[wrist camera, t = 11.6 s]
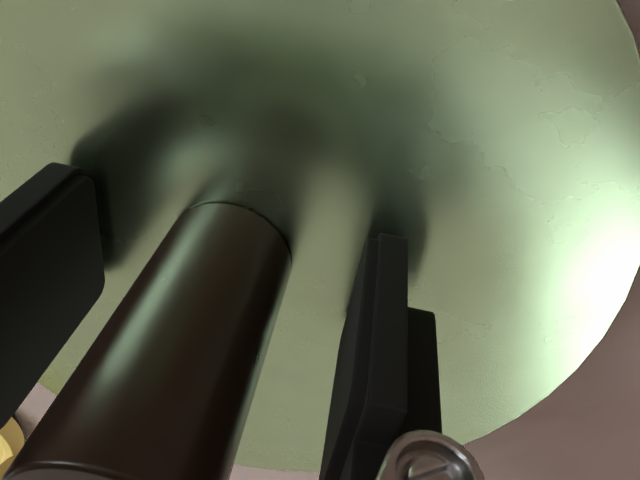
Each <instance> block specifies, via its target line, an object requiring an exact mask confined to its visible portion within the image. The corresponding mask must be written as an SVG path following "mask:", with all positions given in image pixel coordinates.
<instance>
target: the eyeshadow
mask: <svg viewBox="0 0 640 480" xmlns="http://www.w3.org/2000/svg"><path fill="white" fill-rule="evenodd" d="M23 446H24V435H23V432H22V430H21V428H20V426H19V425H18V423H17V422H16V421H15V420H14V418H13V417H11V418H10V420H9V421H8V422H7V424H6V425H5V426H4V427H3V428H1V429H0V480H1V479H2V477H3V475H4V474H5V472H6V471H7V469H8V468H9V466H10V465H11V463H12V462H13V460H14V459H15V457H16V456H17V454H18V453H19V452H20V450H21V449H22V447H23Z"/></svg>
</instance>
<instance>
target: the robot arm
mask: <svg viewBox="0 0 640 480" xmlns="http://www.w3.org/2000/svg"><path fill="white" fill-rule="evenodd" d="M104 285H105V274H104V265H103V256H102V247H101V238H100V229H99V221H98V212H97V203H96V194H95V185H94V181H93V179H92V178H90V177H87V175H86V172H85V171H84V170H83V169H82V168H79V167H74V166H69V165H65V164H60V163H56V162H51V163H49V164H47V165H46V166H45V167H44V168H42V169H41V170H40V171H39V172H37V173H36V174H35V175H34V176H32V177H31V178H30V179H29V180H27V181H26V182H25V183H24V184H22V185H21V186H20V187H19V188H17V189H16V190H15V191H13V192H12V193H11V194H10V195H8V196H7V197H6V198H5V199H3V200H2V201H1V202H0V429H1V428H3V427H4V426H5V425H6V424H7V422H8V421H9V420H10V418H11V417H12V416H13V414H14V413H15V411H16V410H17V409H18V407H19V406H20V405H21V403H22V402H23V401H24V399H25V398H26V397H27V395H28V394H29V392H30V391H31V390H32V388H33V387H34V386H35V384H36V383H37V382H38V380H39V379H40V377H41V376H42V375H43V373H44V372H45V371H46V369H47V368H48V367H49V365H50V364H51V363H52V361H53V360H54V358H55V357H56V356H57V354H58V353H59V352H60V350H61V349H62V348H63V346H64V345H65V343H66V342H67V341H68V339H69V338H70V337H71V335H72V334H73V333H74V331H75V330H76V329H77V327H78V326H79V324H80V323H81V322H82V320H83V319H84V318H85V316H86V315H87V314H88V312H89V311H90V310H91V308H92V307H93V305H94V304H95V303H96V301H97V300H98V299H99V297H100V296H101V294H102V292H103V289H104ZM319 480H484V476H483V472H482V471H481V469H480V467H479V466H478V464H477V462H476V460H475V459H474V457H473V456H472V455H471V454H470V453H469V452H468V451H467V450H466V449H465V448H464V447H463V446H462V445H461V444H459V443H458V442H456V441H455V440H453V439H452V438H450V437H449V436H446V435H444V434H442V419H441V402H440V385H439V368H438V351H437V334H436V320H435V315H434V313H433V312H430V311H426V310H421V309H416V308H412V307H408V239H407V238H403V237H398V236H393V235H389V234H384V233H380V234H379V236H378V239H372V238H367V241H366V245H365V249H364V252H363V256H362V260H361V263H360V267H359V271H358V275H357V278H356V282H355V286H354V289H353V293H352V297H351V301H350V304H349V308H348V312H347V315H346V319H345V323H344V327H343V330H342V334H341V339H340V344H339V349H338V356H337V363H336V369H335V376H334V383H333V389H332V396H331V403H330V409H329V416H328V423H327V430H326V436H325V443H324V450H323V456H322V463H321V470H320V476H319Z"/></svg>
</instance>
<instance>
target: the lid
mask: <svg viewBox="0 0 640 480" xmlns="http://www.w3.org/2000/svg"><path fill="white" fill-rule="evenodd" d="M51 162H56V163H60V164H65V165H69V166H74V167H79V168H82V169H83V170H84V171H85V172H86V175H87V177H90V178H92V179H93V181H94V185H95V194H96V203H97V212H98V221H99V229H100V238H101V247H102V256H103V265H104V274H105V285H104V289H103V292H102V294H101V296H100V297H99V299H98V300H97V301H96V303H95V304H94V305H93V307H92V308H91V310H90V311H89V312H88V314H87V315H86V316H85V318H84V319H83V320H82V322H81V323H80V324H79V326H78V327H77V329H76V330H75V331H74V333H73V334H72V335H71V337H70V338H69V339H68V341H67V342H66V343H65V345H64V346H63V348H62V349H61V350H60V352H59V353H58V354H57V356H56V357H55V358H54V360H53V361H52V363H51V364H50V365H49V367H48V368H47V369H46V371H45V372H44V373H43V375H42V376H41V377H40V379H39V380H38V382H39V383H40V384H41V385H43V386H44V387H46V388H47V389H49V390H50V391H52V392H53V393H55V394H57V397H56V398H55V400H54V401H53V403H52V404H51V406H50V407H49V409H48V410H47V412H46V413H45V415H44V416H43V418H42V419H41V421H40V422H39V423H38V425H37V426H36V428H35V429H34V431H33V432H32V434H31V435H30V437H29V438H28V440H27V441H26V443H25V444H24V446H23V447H22V449H21V450H20V452H19V453H18V454H17V456H16V457H15V459H14V460H13V462H12V463H11V465H10V466H9V468H8V469H7V471H6V472H5V474H4V475H3V477H2V479H1V480H229V477H230V474H231V471H232V467H233V464H237V465H242V466H247V467H255V468H264V469H272V470H281V471H303V472H320V470H321V463H322V456H323V450H324V443H325V436H326V430H327V423H328V416H329V409H330V403H331V396H332V389H333V383H334V376H335V369H336V363H337V356H338V349H339V344H340V339H341V334H342V330H343V327H344V323H345V319H346V315H347V312H348V308H349V304H350V301H351V297H352V293H353V289H354V286H355V282H356V278H357V275H358V271H359V267H360V263H361V260H362V256H363V252H364V249H365V245H366V241H367V238H372V239H378V236H379V234H380V233H384V234H389V235H393V236H398V237H403V238H407V239H408V307H412V308H416V309H421V310H426V311H430V312H433V313H434V315H435V320H436V334H437V351H438V368H439V385H440V402H441V419H442V434H444V435H446V436H449V437H450V438H452V439H453V440H455V441H456V442H458V443H459V444H461V445H464V444H467V443H469V442H471V441H474V440H476V439H478V438H481V437H483V436H486V435H488V434H489V433H491V432H493V431H495V430H497V429H498V428H500V427H502V426H504V425H506V424H507V423H509V422H511V421H513V420H515V419H516V418H518V417H520V416H521V415H523V414H524V413H525V412H527V411H528V410H530V409H531V408H532V407H534V406H535V405H536V404H538V403H539V402H541V401H542V400H543V399H545V398H546V397H548V396H549V395H550V394H551V393H552V392H553V391H554V390H556V389H557V388H558V387H559V386H560V385H561V384H562V383H563V382H564V381H565V380H566V379H567V378H568V377H570V376H571V375H572V374H573V373H574V372H575V371H576V370H577V369H578V368H579V367H580V366H581V364H582V363H583V362H584V361H585V360H586V358H587V357H588V356H589V355H590V353H591V352H592V351H593V350H594V349H595V347H596V346H597V345H598V344H599V343H600V341H601V340H602V339H603V338H604V336H605V335H606V333H607V331H608V330H609V328H610V326H611V325H612V323H613V321H614V320H615V318H616V316H617V315H618V313H619V311H620V310H621V308H622V306H623V305H624V303H625V301H626V300H627V297H628V295H629V292H630V290H631V287H632V285H633V282H634V280H635V277H636V275H637V273H638V270H639V268H640V55H639V52H638V48H637V45H636V41H635V38H634V34H633V32H632V30H631V28H630V26H629V24H628V22H627V20H626V18H625V16H624V14H623V12H622V10H621V7H620V5H619V3H618V1H617V0H0V202H1V201H2V200H3V199H5V198H6V197H7V196H8V195H10V194H11V193H12V192H13V191H15V190H16V189H17V188H19V187H20V186H21V185H22V184H24V183H25V182H26V181H27V180H29V179H30V178H31V177H32V176H34V175H35V174H36V173H37V172H39V171H40V170H41V169H42V168H44V167H45V166H46V165H47V164H49V163H51Z"/></svg>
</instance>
